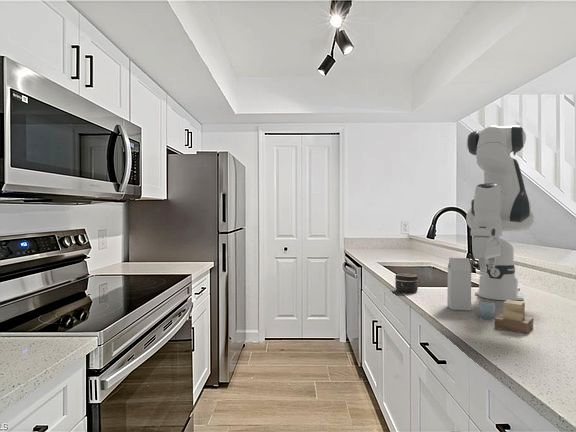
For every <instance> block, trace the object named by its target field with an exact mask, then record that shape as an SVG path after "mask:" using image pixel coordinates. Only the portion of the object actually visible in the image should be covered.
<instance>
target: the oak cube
mask: <svg viewBox="0 0 576 432" xmlns="http://www.w3.org/2000/svg"><path fill="white" fill-rule="evenodd" d="M502 305H503V306H502V308H503V311H502V312H503V318H504V319H511V320H518V321H522V320H523V319H524V318H525V317H526V315H525V314H526V302H525V301H522V300H504V301H503V304H502Z"/></svg>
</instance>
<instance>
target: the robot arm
mask: <svg viewBox="0 0 576 432" xmlns="http://www.w3.org/2000/svg"><path fill="white" fill-rule="evenodd" d="M526 141H527V136H526V132H525V130H524V128H523V127H522V126H521V125H516V124H515V125H511V126H509V125H507V126H503V125H502V126H498V125H491V126H487V127H486V128H484V129H481V130H474V131H471V132H470V133H469V134H468V135H467V139H466V148H467V150H468V152H469V153H470V155H473V156H476V164H477V166H478V167H479V168H480V169H481V170H482V171H483V178H484V179H483V183H479V184H477V185H476V187H475V188H474V189H475V190H474V197H473V199H472V200H471V208H470V209H469V210H467V213H466V215H465V216H466V217H465V220H466V224H467V226H468V227H469V228H470V236H471V245H472V249H471V250H472V256H473V259H475V260H478V265H479V271H480V273H482V274H481V275H480V276H479V281H478V291H475V292H474V295H476V296H479V297H481V298H485V299H489V300H497V301H506V300H513V301H525V300H524V292H522V291H520V290H521V288H520V287H519V281H518V278H517V276H516V274H515V273H516V268H515V264H514V247H513V244H512V243H510V242H509V241H507V240H505V239H502V238H501V236H503V232H509V233H510V232H515V233H516V232H522V231H527V230H530V228H531V227H532V226H533V224H534V220H535V216H534V213H533V211H532V206H531V201H530V199H529V196H528V194H527V190H526V187H525V182H524V179H523V175H522V171H521V168H520V167H521V166H520V164H519V162H518V160H517V159H515V158H513V157H512V156H511V153H512V152H513V156H516V154H517V153H519V152H520V151H521V150H522V149H523V148H524V147H525V144H526Z"/></svg>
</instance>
